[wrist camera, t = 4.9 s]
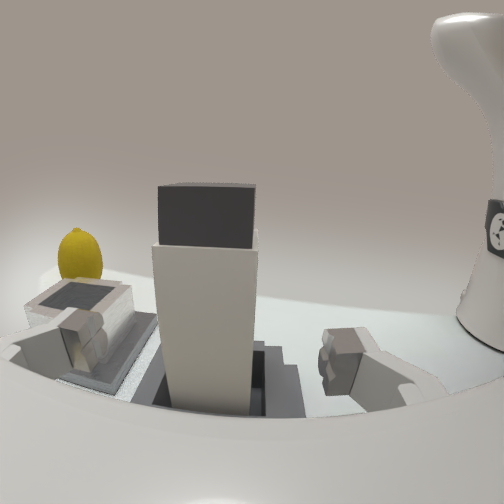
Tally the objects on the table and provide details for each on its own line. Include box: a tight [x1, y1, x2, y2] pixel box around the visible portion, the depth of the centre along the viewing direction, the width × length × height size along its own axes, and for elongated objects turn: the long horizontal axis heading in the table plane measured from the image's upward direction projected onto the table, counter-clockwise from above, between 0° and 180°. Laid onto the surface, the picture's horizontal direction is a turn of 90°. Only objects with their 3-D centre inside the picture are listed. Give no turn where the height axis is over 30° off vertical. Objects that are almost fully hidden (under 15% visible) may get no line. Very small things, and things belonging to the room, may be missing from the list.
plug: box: [152, 183, 258, 416], centre depth 12 cm, size 4×4×12 cm
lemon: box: [58, 228, 103, 279], centre depth 27 cm, size 6×6×8 cm
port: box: [24, 277, 158, 395], centre depth 19 cm, size 10×10×4 cm
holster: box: [130, 341, 306, 419], centre depth 13 cm, size 10×10×4 cm
